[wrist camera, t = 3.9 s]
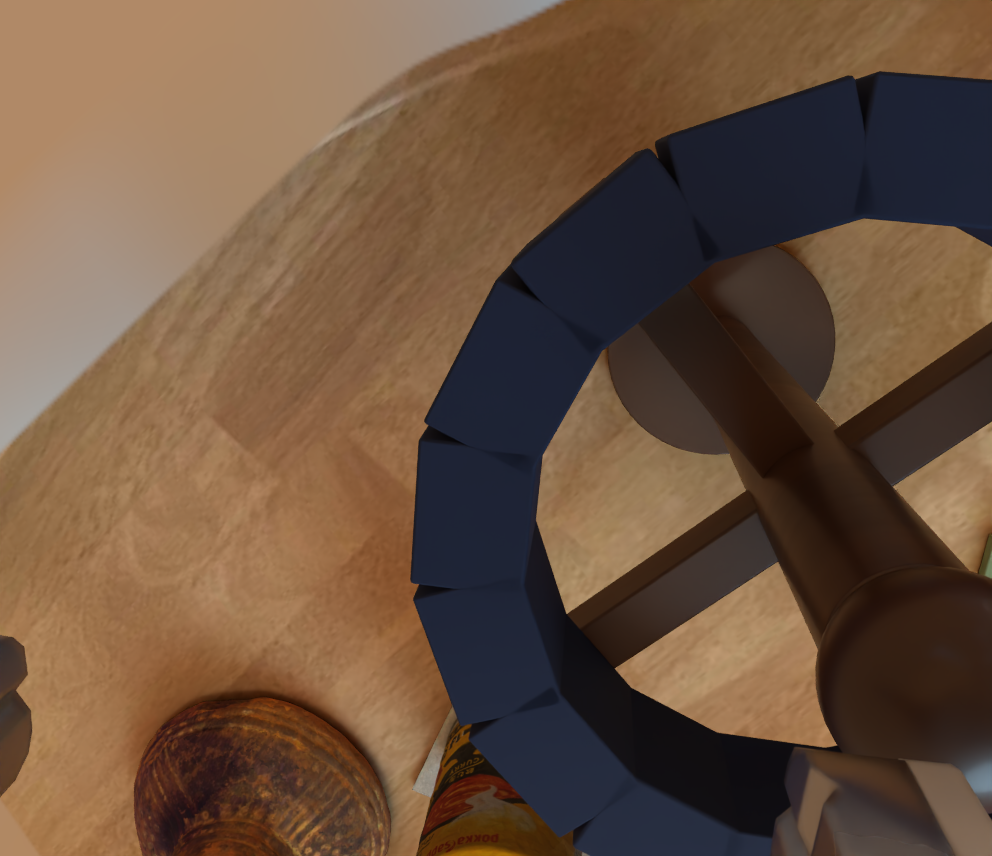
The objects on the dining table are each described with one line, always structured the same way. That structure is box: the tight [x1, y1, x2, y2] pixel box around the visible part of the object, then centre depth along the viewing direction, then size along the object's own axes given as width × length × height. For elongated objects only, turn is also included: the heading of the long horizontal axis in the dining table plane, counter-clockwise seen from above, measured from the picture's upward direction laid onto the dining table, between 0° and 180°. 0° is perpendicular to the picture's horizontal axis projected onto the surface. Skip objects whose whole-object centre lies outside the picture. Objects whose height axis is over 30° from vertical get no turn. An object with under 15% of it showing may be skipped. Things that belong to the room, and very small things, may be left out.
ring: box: [410, 71, 992, 856], centre depth 16 cm, size 15×15×3 cm
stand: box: [558, 178, 992, 814], centre depth 21 cm, size 11×11×24 cm
